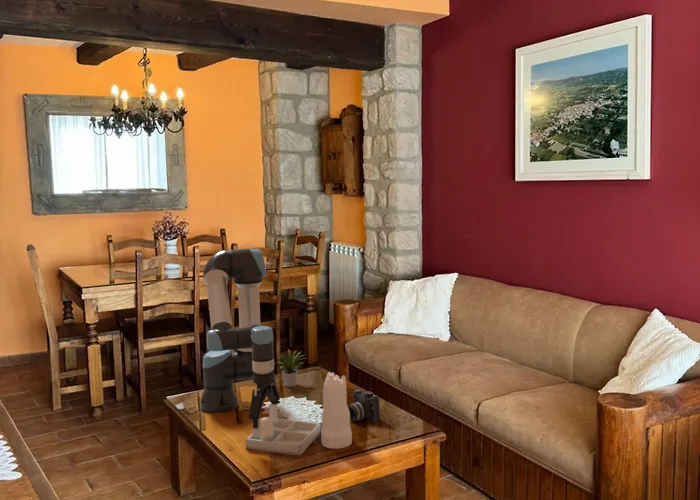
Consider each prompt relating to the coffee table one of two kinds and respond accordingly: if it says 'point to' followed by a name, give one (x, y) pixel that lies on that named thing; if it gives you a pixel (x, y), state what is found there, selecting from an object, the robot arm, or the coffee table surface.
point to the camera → (364, 406)
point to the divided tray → (287, 437)
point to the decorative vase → (335, 414)
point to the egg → (267, 429)
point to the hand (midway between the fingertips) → (265, 428)
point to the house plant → (290, 368)
